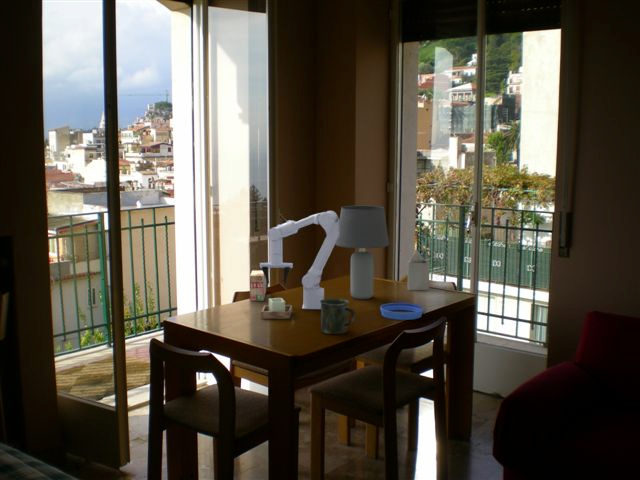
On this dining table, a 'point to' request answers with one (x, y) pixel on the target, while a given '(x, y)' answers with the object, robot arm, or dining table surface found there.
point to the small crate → (276, 305)
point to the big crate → (276, 313)
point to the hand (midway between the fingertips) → (276, 283)
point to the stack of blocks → (257, 286)
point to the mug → (335, 315)
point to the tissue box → (418, 273)
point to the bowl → (401, 311)
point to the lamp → (362, 244)
